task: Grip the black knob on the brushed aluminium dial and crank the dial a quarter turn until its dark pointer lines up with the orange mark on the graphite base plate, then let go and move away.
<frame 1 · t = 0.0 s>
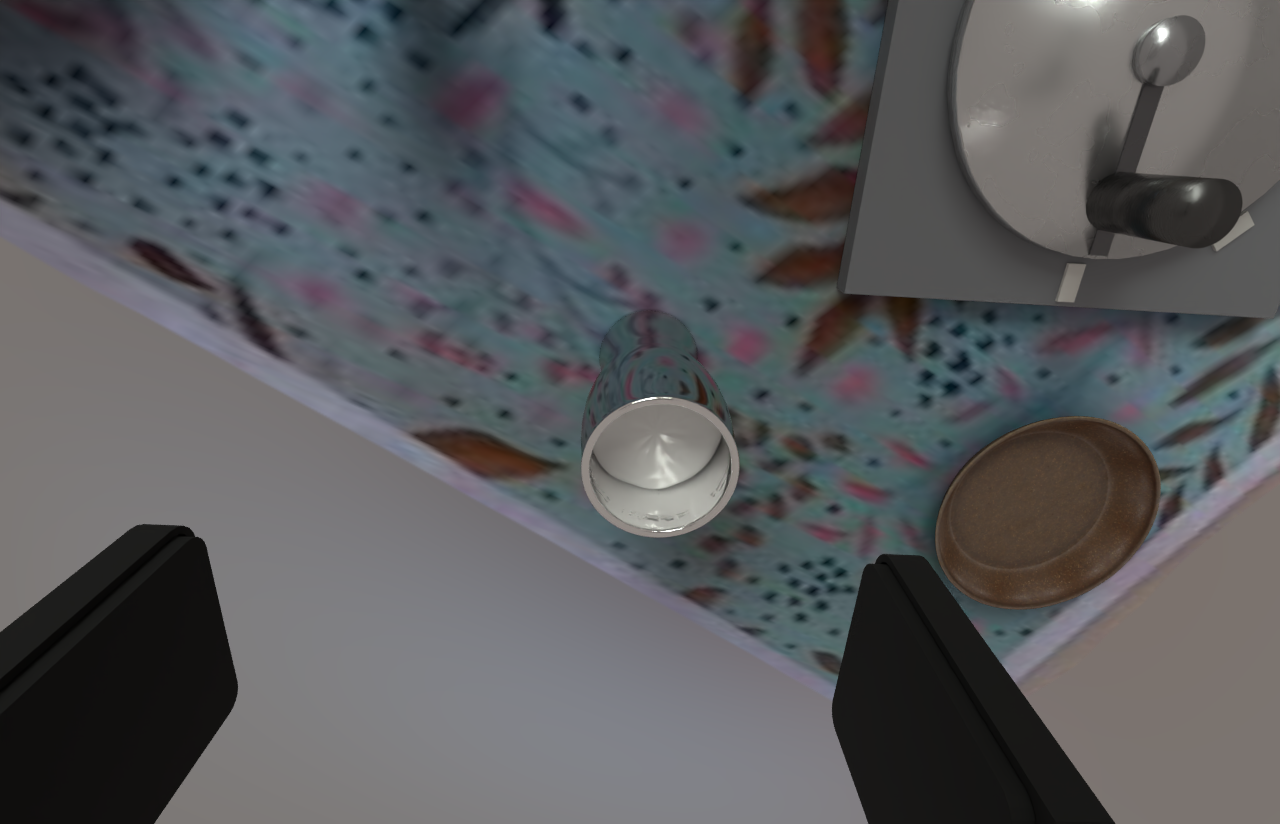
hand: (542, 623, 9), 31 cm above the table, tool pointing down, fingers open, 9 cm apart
dial: (1203, 46, 30), point 5 cm above the table, hinge at 0.0°
dial plate: (1120, 59, 35), on the table
beer glass: (648, 356, 41), on the table
saucer: (1023, 498, 46), on the table
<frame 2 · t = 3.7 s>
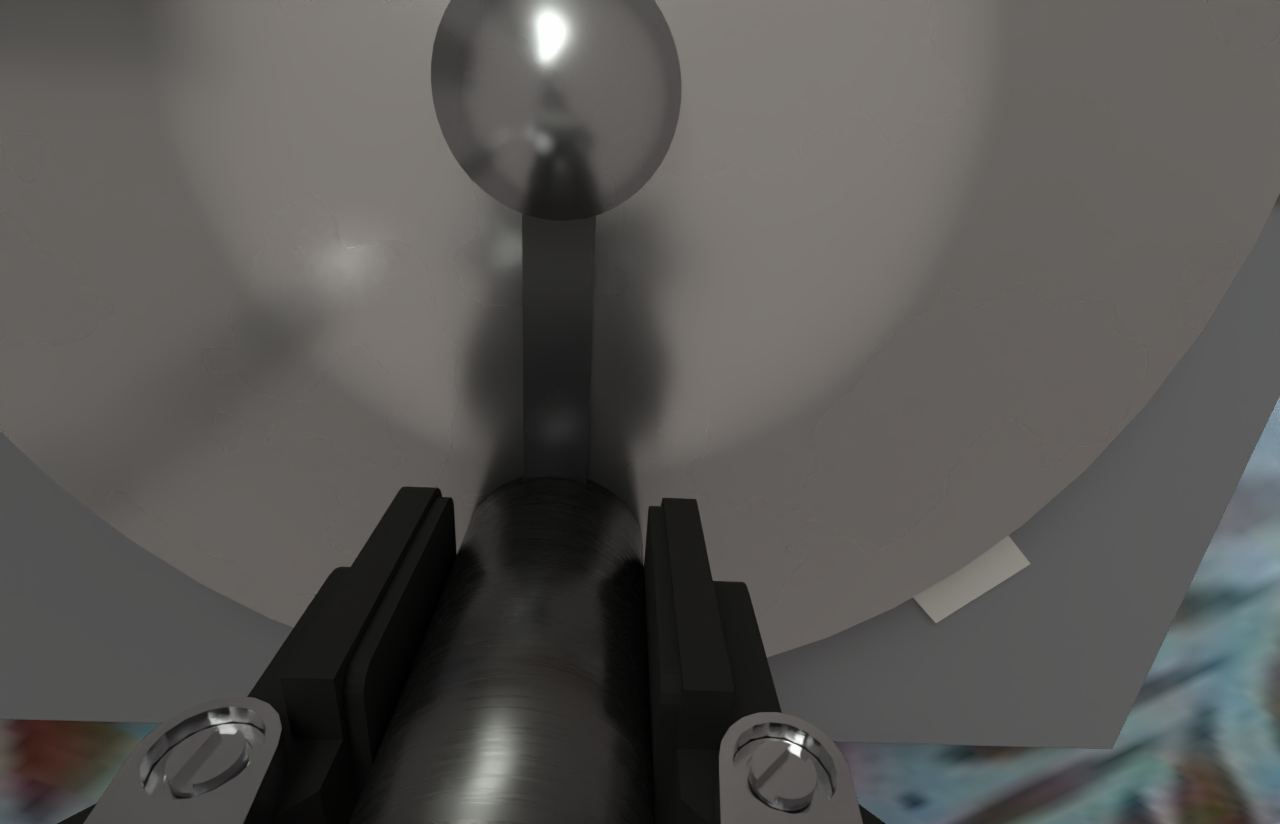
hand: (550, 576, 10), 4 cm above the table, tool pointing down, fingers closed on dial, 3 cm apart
dial: (539, 79, 6), point 5 cm above the table, hinge at 0.0°, touching gripper
dial plate: (577, 105, 11), on the table
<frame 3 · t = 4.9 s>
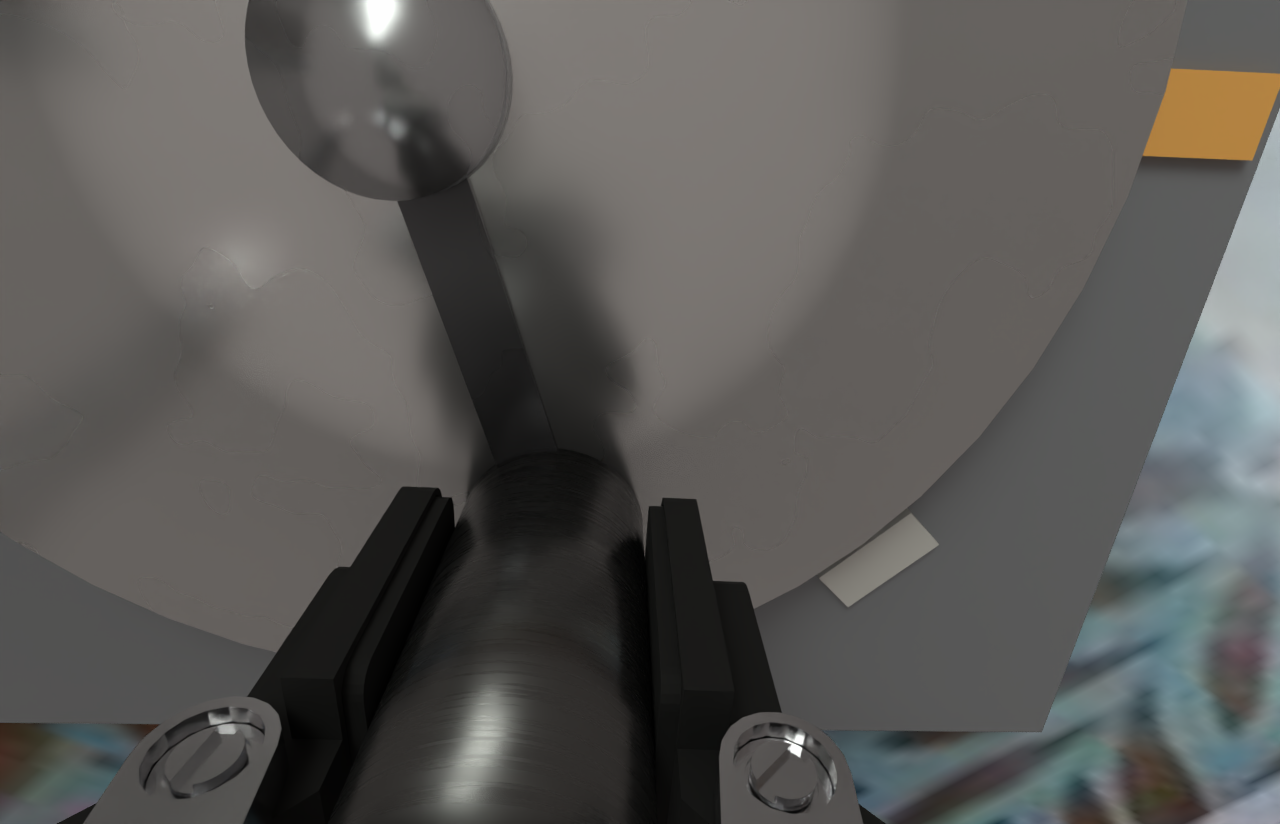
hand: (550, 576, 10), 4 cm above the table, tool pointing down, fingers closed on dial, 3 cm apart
dial: (309, 49, 6), point 5 cm above the table, hinge at 16.1°, touching gripper
dial plate: (451, 88, 11), on the table
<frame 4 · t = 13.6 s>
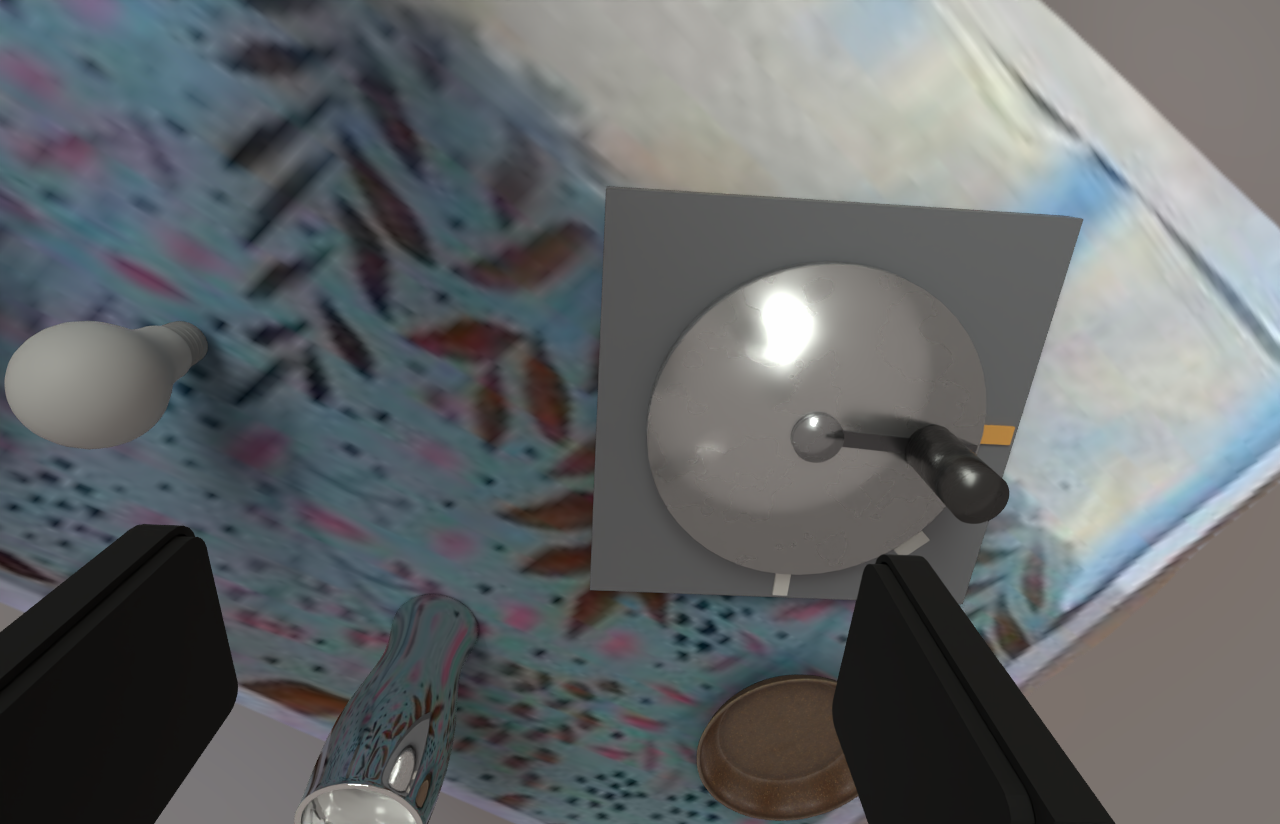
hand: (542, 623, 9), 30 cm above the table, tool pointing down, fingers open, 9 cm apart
dial: (827, 453, 36), point 5 cm above the table, hinge at 86.3°
dial plate: (803, 415, 41), on the table
lightbulb: (195, 337, 39), on the table
beer glass: (437, 625, 48), on the table
saucer: (784, 724, 52), on the table
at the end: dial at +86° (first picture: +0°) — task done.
